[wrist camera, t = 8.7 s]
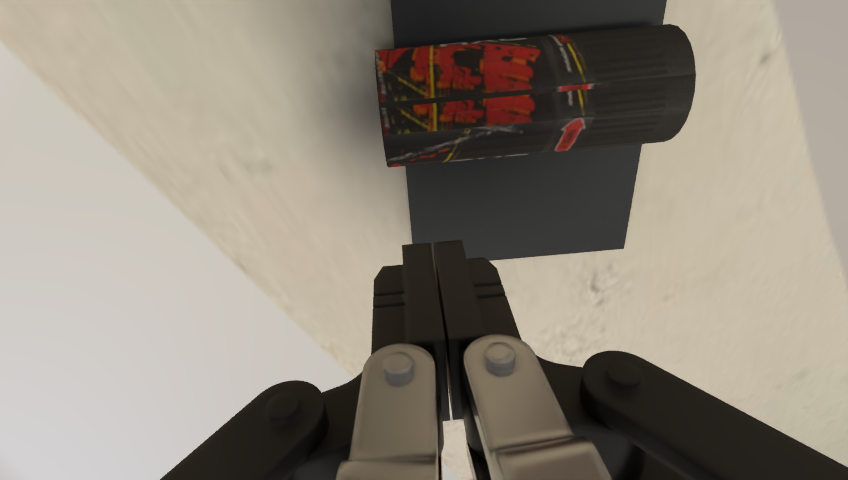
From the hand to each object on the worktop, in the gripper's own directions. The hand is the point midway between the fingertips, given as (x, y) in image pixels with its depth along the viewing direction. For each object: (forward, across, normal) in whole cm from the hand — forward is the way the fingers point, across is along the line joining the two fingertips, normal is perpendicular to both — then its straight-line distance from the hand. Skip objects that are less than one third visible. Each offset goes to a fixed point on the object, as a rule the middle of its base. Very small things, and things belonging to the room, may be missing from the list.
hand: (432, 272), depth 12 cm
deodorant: (+15, +2, 0) cm, 15 cm away
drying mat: (+18, -7, +2) cm, 20 cm away
